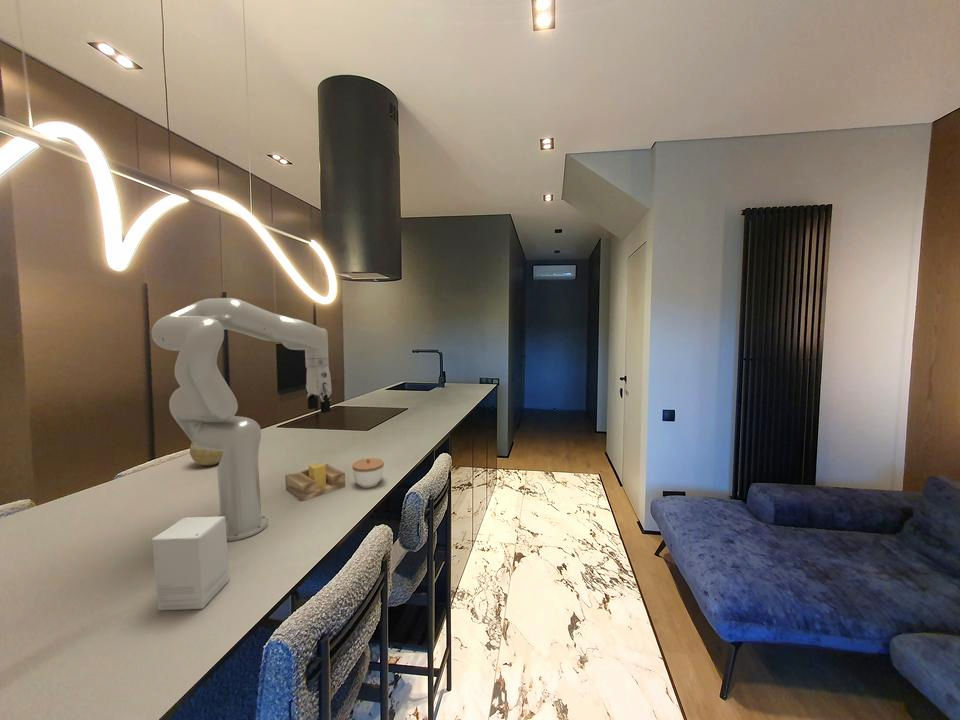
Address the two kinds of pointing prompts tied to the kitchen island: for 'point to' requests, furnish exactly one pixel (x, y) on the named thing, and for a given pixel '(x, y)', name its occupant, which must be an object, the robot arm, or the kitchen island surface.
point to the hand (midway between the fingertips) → (319, 410)
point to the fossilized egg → (205, 455)
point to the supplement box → (190, 562)
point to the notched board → (314, 483)
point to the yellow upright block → (318, 473)
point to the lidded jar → (368, 472)
